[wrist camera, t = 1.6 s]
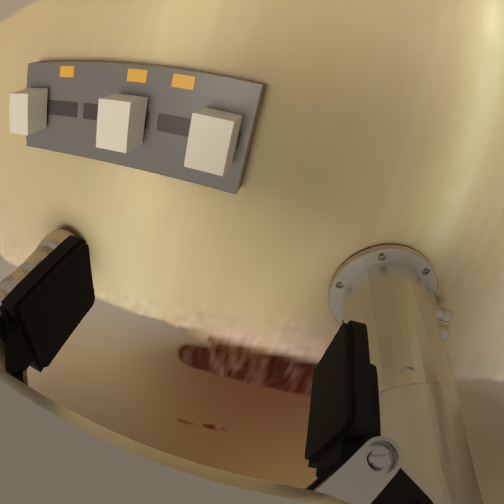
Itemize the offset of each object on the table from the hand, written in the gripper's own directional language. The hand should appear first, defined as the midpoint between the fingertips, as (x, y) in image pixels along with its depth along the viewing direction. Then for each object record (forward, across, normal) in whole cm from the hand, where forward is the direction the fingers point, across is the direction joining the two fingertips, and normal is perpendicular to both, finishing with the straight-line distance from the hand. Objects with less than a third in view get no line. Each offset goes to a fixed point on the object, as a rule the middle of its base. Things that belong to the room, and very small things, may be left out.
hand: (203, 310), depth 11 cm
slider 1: (+18, +26, -1) cm, 31 cm away
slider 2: (+18, +13, -1) cm, 22 cm away
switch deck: (+20, +15, -1) cm, 25 cm away
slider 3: (+18, +5, -1) cm, 19 cm away
